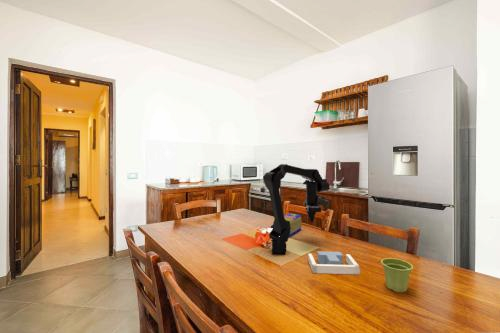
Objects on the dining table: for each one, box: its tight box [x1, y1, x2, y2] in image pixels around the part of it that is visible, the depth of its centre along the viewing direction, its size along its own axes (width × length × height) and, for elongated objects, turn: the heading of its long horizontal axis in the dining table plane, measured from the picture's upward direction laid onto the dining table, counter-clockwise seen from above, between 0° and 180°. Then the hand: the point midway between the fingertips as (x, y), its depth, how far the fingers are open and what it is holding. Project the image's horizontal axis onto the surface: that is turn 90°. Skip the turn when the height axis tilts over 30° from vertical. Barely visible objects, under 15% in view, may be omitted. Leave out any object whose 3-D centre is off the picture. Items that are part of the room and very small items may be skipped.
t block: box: [316, 250, 344, 265], centre depth 103 cm, size 10×10×4 cm
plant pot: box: [380, 257, 414, 293], centre depth 84 cm, size 9×9×9 cm
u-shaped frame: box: [307, 253, 361, 275], centre depth 102 cm, size 18×12×3 cm
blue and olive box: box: [270, 213, 303, 237], centre depth 148 cm, size 10×25×10 cm, turn 145°
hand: (311, 222), depth 128 cm, fingers closed
